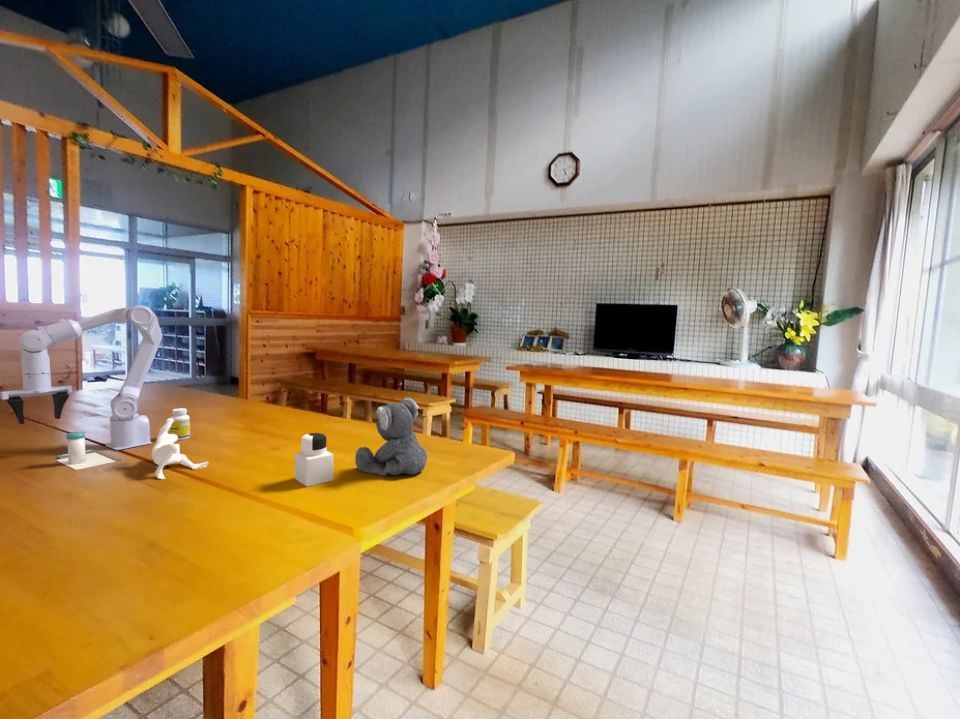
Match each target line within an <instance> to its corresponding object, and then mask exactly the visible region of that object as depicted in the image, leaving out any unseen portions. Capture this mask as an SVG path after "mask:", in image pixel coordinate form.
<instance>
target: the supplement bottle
mask: <svg viewBox="0 0 960 719" xmlns="http://www.w3.org/2000/svg"><path fill="white" fill-rule="evenodd" d="M171 413H172V416H171V417H170V418H172V419H173V420H174V422H173V423H172V424H171V427H170V434H175V435H177V436H178V440H177V441H182V440H183V441H184V440H187V439H190V438H191V421H190V420H191V418H190V415H188V414H187V413H188V410H187V408H185V407H184V408H182V407H180V408H179V407H178V408H173V409H172V412H171Z"/></svg>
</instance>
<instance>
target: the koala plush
mask: <svg viewBox="0 0 960 719" xmlns="http://www.w3.org/2000/svg"><path fill="white" fill-rule="evenodd" d="M419 408H420V406H418V404H417V402H416V401H415V400H414V399H412V398H411V397H406V398H403V399H401V401H400V402H390V403H387V404H386V405H382V406H379V407H377V410H376V411H375V413H376V415H377V417H378V418H377V420H376V421H375V422H376V424H375V426H376V429H377V433H378V434H379V435H380V437H381V438H382V439H383V440H384V441H386V442H385V443H383V445H382V446H380V447H379V448H378V449H377V450H376V452H375V453H373V452H372V450H371V449H370V448H369V447H366V446H364V447H363V446H361V447H358V449H357V450H356V451H355V466H356V468H357V469H358V470H359V471H361V472H363V473H367V474H373V475H378V476H381V477H385V476H388V475H392V476H393V477H395V476H399V475H402V474H404V475H409V476H411V475H412V476H413V475H416V474H418V473H421V472H422V471H423V470H424V469H425V467H426V463H427V460H428V453H427V450H426V449H425V448H424V447H423V446H422V445H420V444H419V441H418V438H417V436H416V432H415V431H413V428H414V424H413V423H414V422H413V421H414V420H416V419H417V417H418V416H419V412H418V409H419Z"/></svg>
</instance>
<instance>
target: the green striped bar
mask: <svg viewBox="0 0 960 719" xmlns="http://www.w3.org/2000/svg"><path fill="white" fill-rule="evenodd" d="M94 452H96V450H95V449H92V448H90V449H85V453H86V454H89V453H94ZM56 458H57V459H63V458H68V453H64V454H59V455H57V456H56Z"/></svg>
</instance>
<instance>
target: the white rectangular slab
mask: <svg viewBox="0 0 960 719" xmlns="http://www.w3.org/2000/svg"><path fill="white" fill-rule="evenodd" d="M121 459H122V458H119V457H117V456H115V455H112V454H109V453H107V452H104V451H103V450H102V451H101V450H95V452H94V453H89V454H86V462H84V463H80V464H69V460H68V458H63V459H59V458H57V459H56V462H58V463H60V464H63V465H65V466H66V467H69V468H71V469H72V470H75V471H79V470H83V469H87V468H93V467H97V466H102V465H105V464H106V465H107V464H111V463H115V462H121Z"/></svg>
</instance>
